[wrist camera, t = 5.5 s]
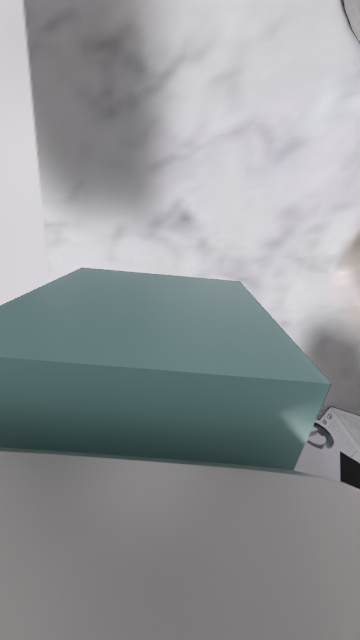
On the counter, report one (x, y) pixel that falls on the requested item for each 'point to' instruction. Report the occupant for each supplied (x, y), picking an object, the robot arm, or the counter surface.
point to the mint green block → (154, 371)
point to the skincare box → (344, 430)
